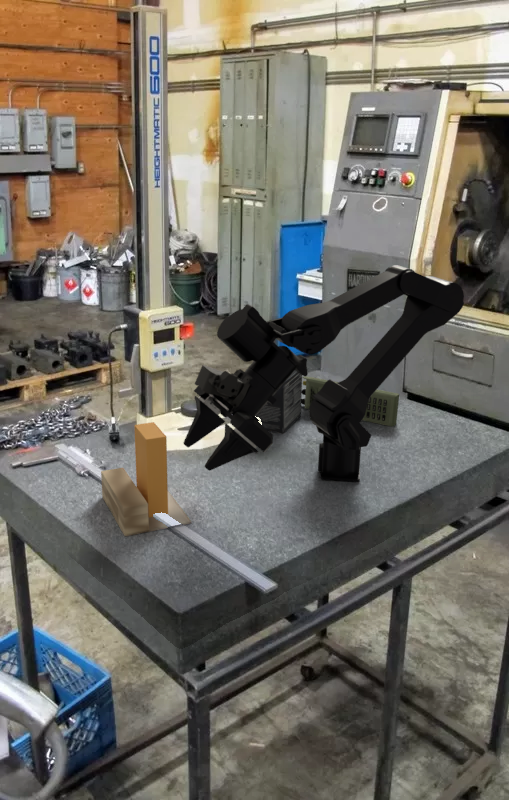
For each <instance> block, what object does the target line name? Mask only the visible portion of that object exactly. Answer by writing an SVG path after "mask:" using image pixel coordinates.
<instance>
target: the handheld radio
mask: <svg viewBox="0 0 509 800" xmlns="http://www.w3.org/2000/svg"><path fill="white" fill-rule="evenodd" d="M302 379H304V380H302V386H305V388H304V389H303V388H302V395H303V396H305V397H304V398H301V405H303V406H304V409H305V410H309V407H310V404H311V403H312V401H313V400H314V398H313V397H312V396H313V395H315V394H316V393H318V392H319V391H320V390H321V388H322V387H323V385H324V384H325V383H326V382H327V381H328V380H329V379H323V378H317V377H313V376H302ZM333 381H334V380H333ZM334 382H335V383H338V381H334ZM399 402H400V393H397V392H392V391H387V390H382V389H377V390H376V391H375V392H374V393H373V394H372V395H371V397H370V398H369V400H368V404H367V409H366V413H365V416H364V418H363V419H362V421H361V422H367V423H374V424H378V425H381V426H382V425H383V426H387V427H395V426H396V425H397V421H398V419H397V418H398V412H399V410H398V409H399Z"/></svg>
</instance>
